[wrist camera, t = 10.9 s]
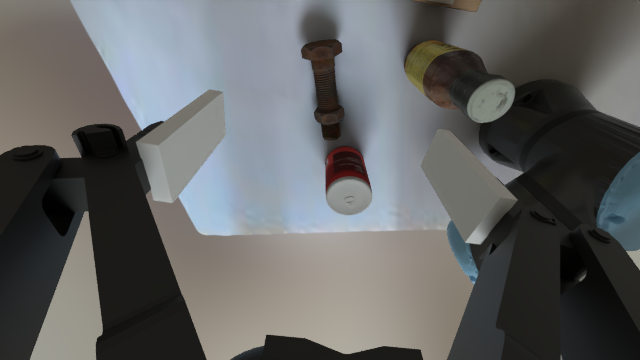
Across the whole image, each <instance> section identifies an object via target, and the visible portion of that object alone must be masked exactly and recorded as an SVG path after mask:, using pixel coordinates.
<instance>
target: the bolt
mask: <svg viewBox="0 0 640 360" xmlns="http://www.w3.org/2000/svg"><path fill="white" fill-rule="evenodd" d="M341 52H342V43H341V42H339V41H338V40H336V39H334V40H322V41H315V42H311V43H308V44H305V45H304V46H303V47H302V49H301V53H302V58H304V59H308V60H311V63H312V69H313V71H314V76H315V77H314V78H315V85H316V86H315V87H316V92H317V98H318V99H317V100H318V106H319V107H317V109H316V110H315V112H314V116H315V119H316V121H317V122H318V123H320V124H321V127H322V133H323V138H324V139H325V140H337V139H338V138H339V137H340V136H341V133H340V124H339V123H340V122H339V121H341V119H342V118H343V116H344V108H343V107H342V106H341V105H339V104H338V101H337V93H336V92H337V91H336V90H337V89H336V84H335V83H336V82H335V81H336V80H335V68H334V66H335V62H334V56H336V55H338V54H340V53H341Z"/></svg>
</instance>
